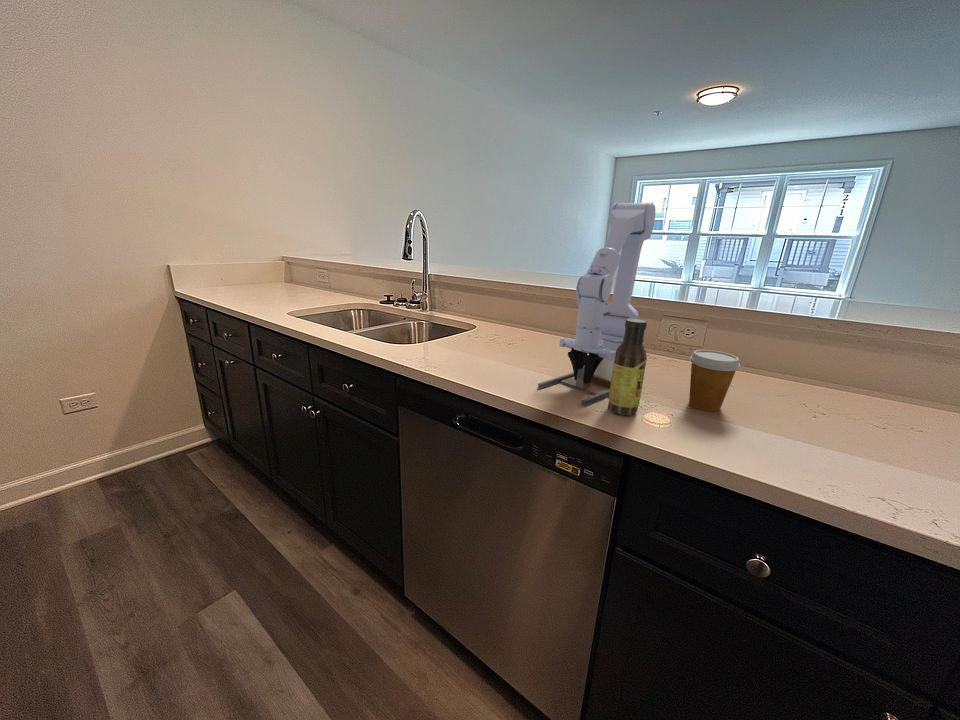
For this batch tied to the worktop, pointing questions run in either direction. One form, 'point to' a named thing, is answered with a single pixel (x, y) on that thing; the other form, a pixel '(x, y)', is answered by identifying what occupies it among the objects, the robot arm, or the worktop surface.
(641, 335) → the sauce bottle
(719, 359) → the disposable coffee cup
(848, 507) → the worktop surface
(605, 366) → the white cup
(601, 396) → the lane rails
